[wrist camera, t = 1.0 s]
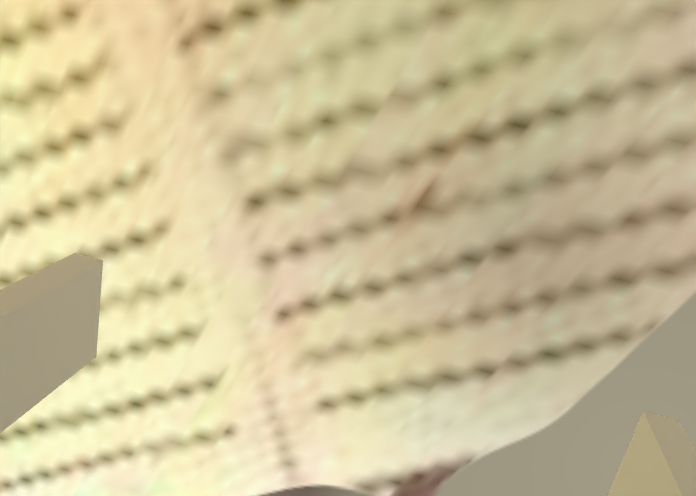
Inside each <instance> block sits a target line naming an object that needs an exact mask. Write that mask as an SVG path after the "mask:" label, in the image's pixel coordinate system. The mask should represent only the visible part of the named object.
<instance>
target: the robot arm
mask: <svg viewBox="0 0 696 496" xmlns="http://www.w3.org/2000/svg"><path fill="white" fill-rule="evenodd" d="M102 266H103V261H102V260H99V259H95V258H91V257H88V256H84V255H81V254H77V253H74V254H72V255H70V256H68V257H66V258H64V259H62V260H60V261H58V262H56V263H54V264H52V265H50V266H48V267H46V268H44V269H41V270H39V271H37V272H35V273H33V274H31V275H29V276H27V277H25V278H23V279H21V280H19V281H17V282H15V283H13V284H11V285H9V286H7V287H5V288H3V289H1V290H0V433H1V432H2V431H3V430H5V429H6V428H7V427H8V426H10V425H11V424H12V423H13V422H15V421H16V420H17V419H18V418H20V417H21V416H22V415H23V414H25V413H26V412H27V411H29V410H30V409H31V408H32V407H34V406H35V405H36V404H37V403H39V402H40V401H41V400H42V399H44V398H45V397H46V396H47V395H49V394H50V393H51V392H52V391H54V390H55V389H56V388H57V387H59V386H60V385H61V384H62V383H64V382H65V381H66V380H68V379H69V378H70V377H71V376H73V375H74V374H75V373H76V372H78V371H79V370H80V369H81V368H83V367H84V366H85V365H86V364H88V363H89V362H90V361H91V360H93V359H94V358H95V357H96V352H97V338H98V324H99V309H100V295H101V281H102ZM607 496H696V451H695V450H694V448H693V446H692V444H691V443H690V440H689V439H688V437H687V435H686V433H685V431H684V429H683V428H682V426H681V424H680V422H679V421H677V420H673V419H670V418H666V417H663V416H659V415H656V414H652V413H648V412H645V411H643V413H642V415H641V418H640V420H639V422H638V425H637V427H636V429H635V432H634V434H633V436H632V439H631V441H630V443H629V446H628V448H627V450H626V452H625V455H624V457H623V460H622V462H621V464H620V466H619V469H618V471H617V474H616V476H615V478H614V481H613V483H612V485H611V487H610V490H609V492H608V494H607Z"/></svg>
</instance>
